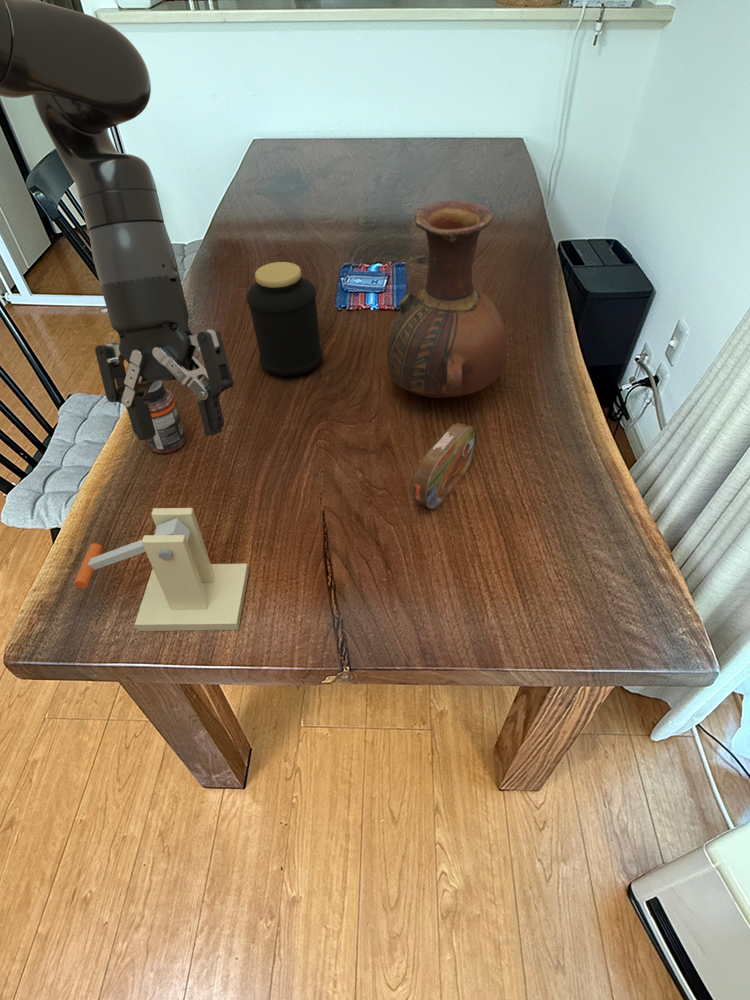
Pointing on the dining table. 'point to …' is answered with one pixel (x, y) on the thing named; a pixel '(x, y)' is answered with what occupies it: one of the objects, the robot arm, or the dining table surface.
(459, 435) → the tin
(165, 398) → the supplement bottle
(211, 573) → the cream lever stand
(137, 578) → the dining table surface
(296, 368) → the container
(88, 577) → the lever handle
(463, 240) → the vase
